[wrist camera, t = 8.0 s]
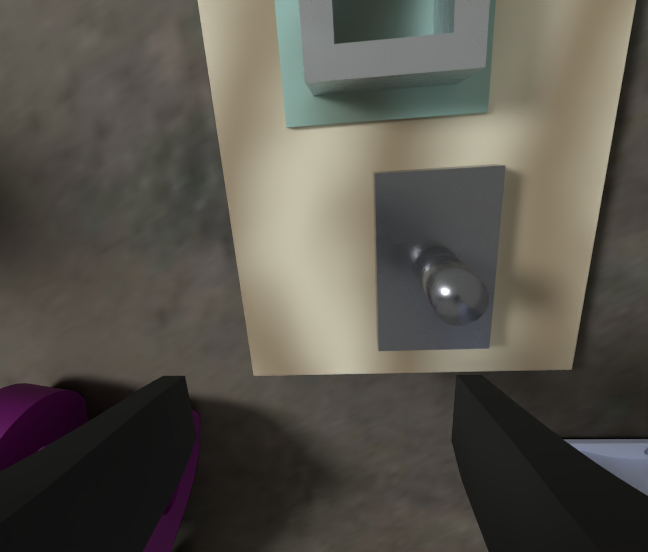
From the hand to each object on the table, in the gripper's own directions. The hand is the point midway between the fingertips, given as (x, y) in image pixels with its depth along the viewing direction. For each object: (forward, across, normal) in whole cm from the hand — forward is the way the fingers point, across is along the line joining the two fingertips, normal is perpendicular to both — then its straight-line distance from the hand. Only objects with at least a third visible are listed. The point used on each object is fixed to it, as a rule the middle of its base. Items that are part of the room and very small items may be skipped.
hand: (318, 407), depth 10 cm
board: (+9, -3, -6) cm, 11 cm away
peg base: (+8, -5, -2) cm, 10 cm away
